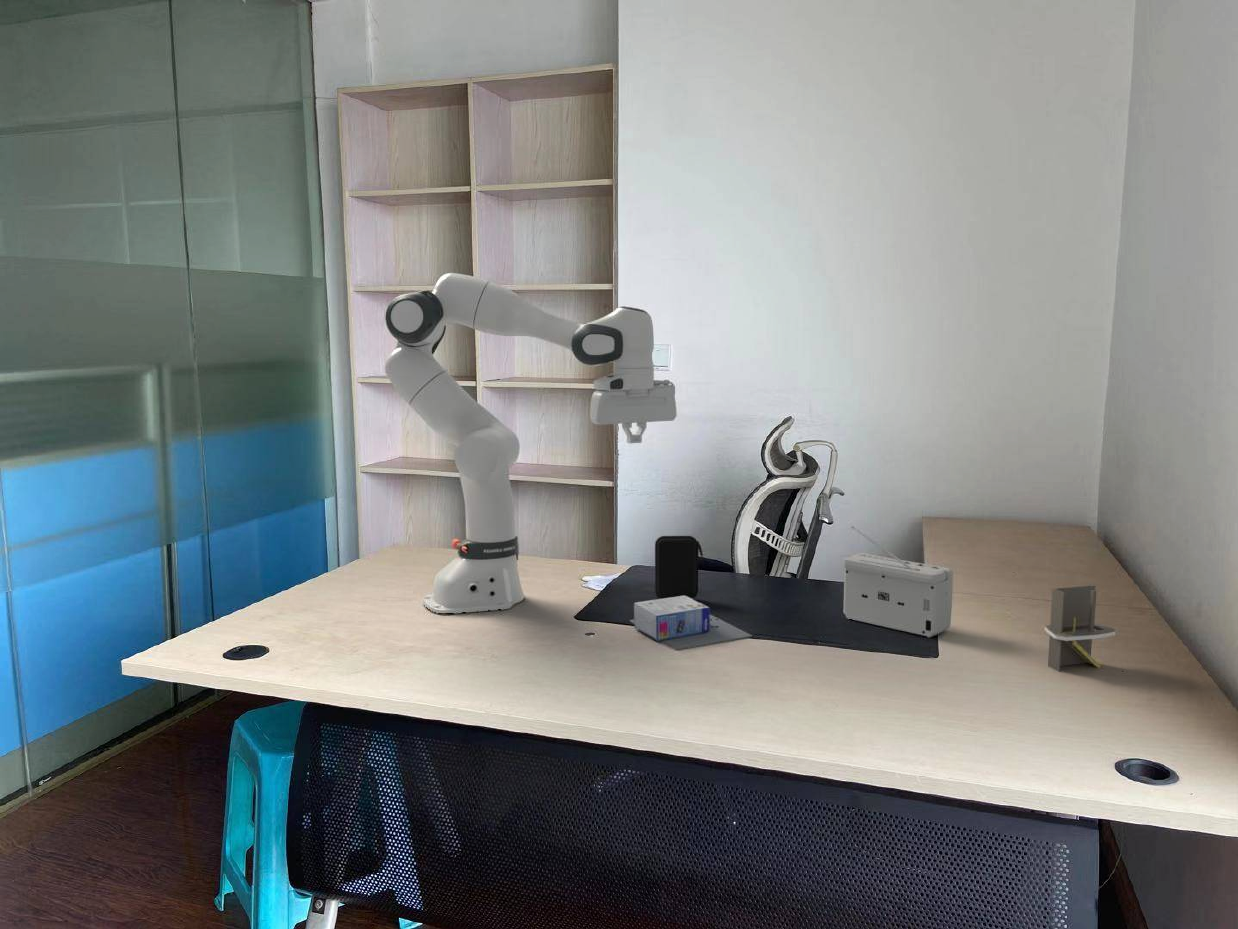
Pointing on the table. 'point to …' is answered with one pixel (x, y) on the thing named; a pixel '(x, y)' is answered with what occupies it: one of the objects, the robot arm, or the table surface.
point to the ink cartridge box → (671, 617)
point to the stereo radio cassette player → (897, 593)
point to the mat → (707, 636)
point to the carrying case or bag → (676, 566)
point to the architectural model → (1073, 626)
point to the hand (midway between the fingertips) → (634, 442)
